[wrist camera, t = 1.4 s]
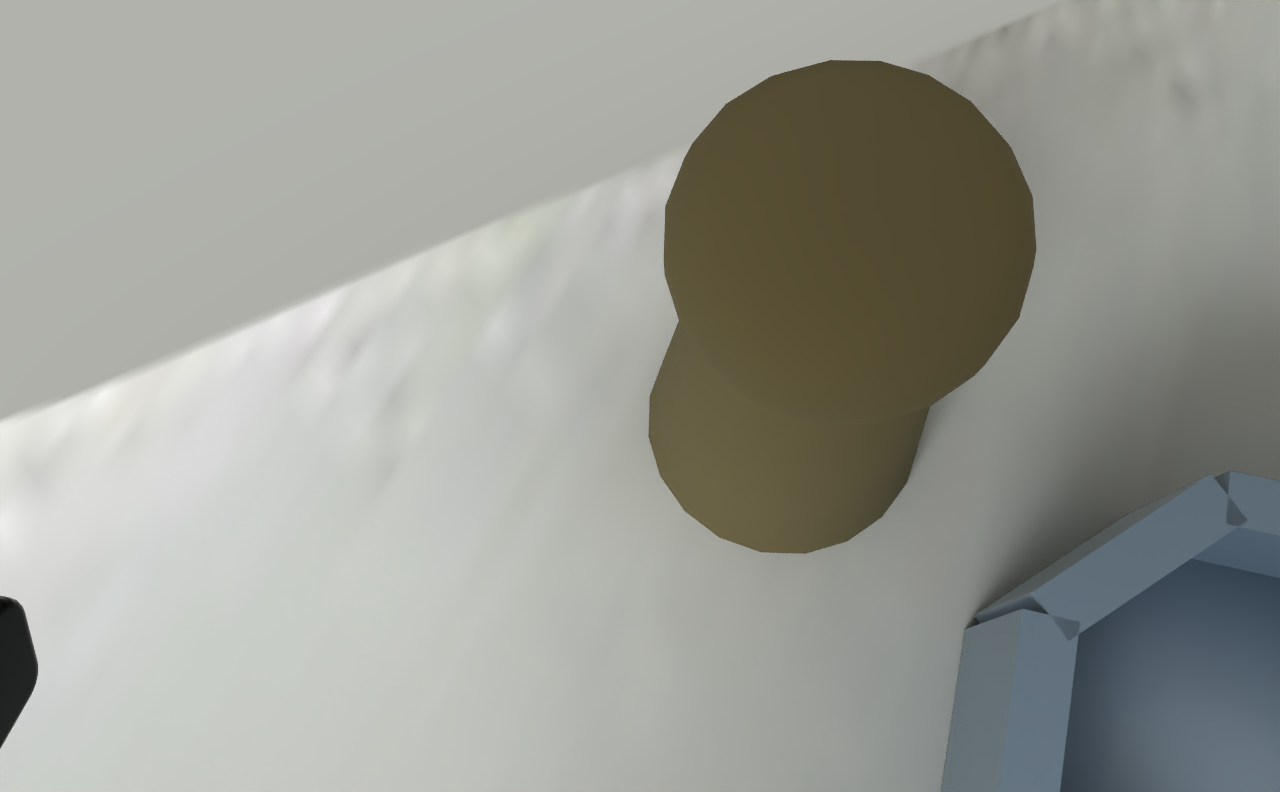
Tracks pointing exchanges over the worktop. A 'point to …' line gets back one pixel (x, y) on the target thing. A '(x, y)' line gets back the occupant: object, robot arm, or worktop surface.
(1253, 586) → the bowl
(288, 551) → the worktop surface
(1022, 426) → the worktop surface
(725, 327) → the cork
